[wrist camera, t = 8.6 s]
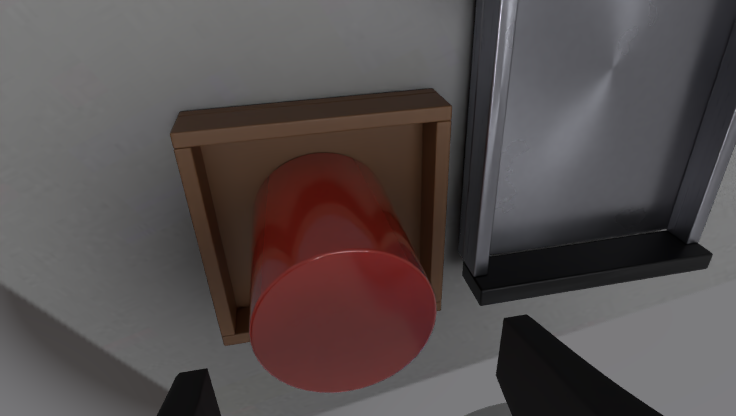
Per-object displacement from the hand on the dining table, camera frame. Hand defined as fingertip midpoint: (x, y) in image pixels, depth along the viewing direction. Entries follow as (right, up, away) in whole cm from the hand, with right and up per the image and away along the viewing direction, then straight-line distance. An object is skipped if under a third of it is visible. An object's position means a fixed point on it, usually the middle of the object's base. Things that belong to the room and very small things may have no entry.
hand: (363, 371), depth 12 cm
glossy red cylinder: (-2, +4, +6) cm, 7 cm away
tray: (-2, +4, +7) cm, 8 cm away
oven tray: (+9, +9, +6) cm, 14 cm away
